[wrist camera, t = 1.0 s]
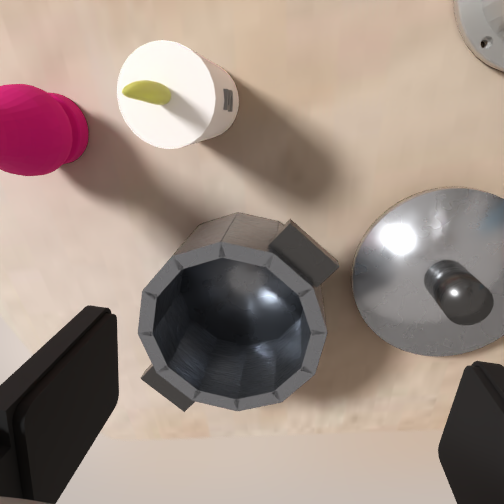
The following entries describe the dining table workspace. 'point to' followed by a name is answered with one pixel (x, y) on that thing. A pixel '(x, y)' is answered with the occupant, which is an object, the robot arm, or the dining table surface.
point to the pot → (236, 314)
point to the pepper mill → (38, 130)
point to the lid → (434, 272)
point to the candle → (175, 95)
